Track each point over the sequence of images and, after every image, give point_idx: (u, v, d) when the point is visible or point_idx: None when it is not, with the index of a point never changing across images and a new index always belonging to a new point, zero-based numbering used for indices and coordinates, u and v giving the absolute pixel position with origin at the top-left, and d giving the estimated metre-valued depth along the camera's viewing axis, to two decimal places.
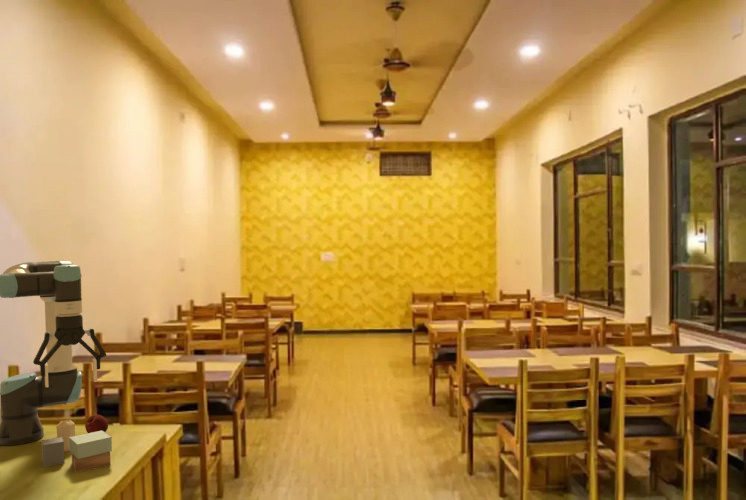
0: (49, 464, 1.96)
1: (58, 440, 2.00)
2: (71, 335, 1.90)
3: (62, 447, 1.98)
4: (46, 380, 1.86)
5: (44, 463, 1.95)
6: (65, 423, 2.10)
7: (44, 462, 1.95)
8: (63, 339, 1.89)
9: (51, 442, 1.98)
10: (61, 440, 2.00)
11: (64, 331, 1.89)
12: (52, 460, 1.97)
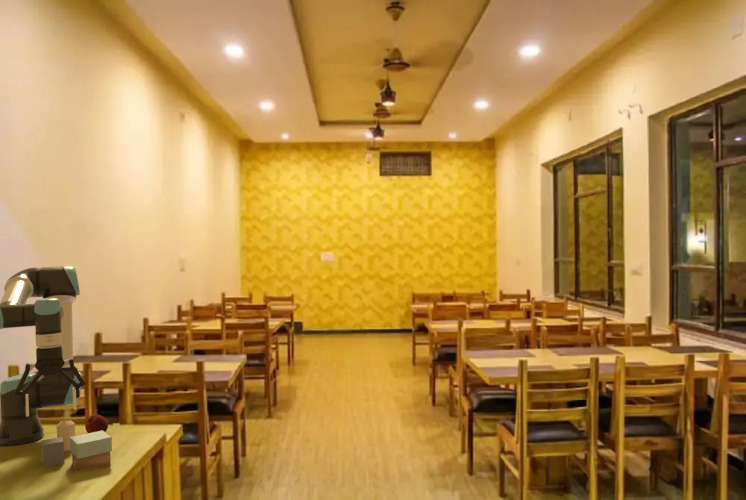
0: (49, 464, 1.96)
1: (58, 440, 2.00)
2: (51, 366, 1.98)
3: (62, 447, 1.98)
4: (27, 409, 1.94)
5: (44, 463, 1.95)
6: (65, 423, 2.10)
7: (44, 462, 1.95)
8: (43, 370, 1.97)
9: (51, 442, 1.98)
10: (61, 440, 2.00)
11: (44, 362, 1.97)
12: (52, 460, 1.97)
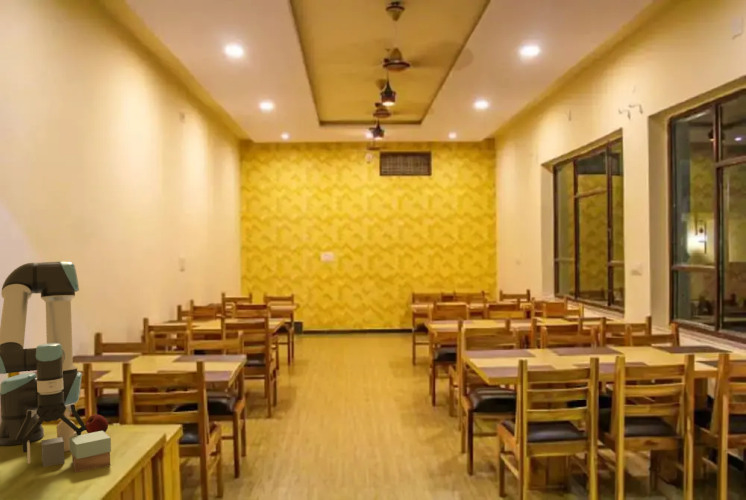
0: (49, 464, 1.96)
1: (58, 440, 2.00)
2: (52, 411, 1.98)
3: (62, 447, 1.98)
4: (28, 456, 1.94)
5: (44, 463, 1.95)
6: (65, 423, 2.10)
7: (44, 462, 1.95)
8: (45, 416, 1.97)
9: (51, 442, 1.98)
10: (61, 440, 1.99)
11: (46, 408, 1.97)
12: (52, 460, 1.97)
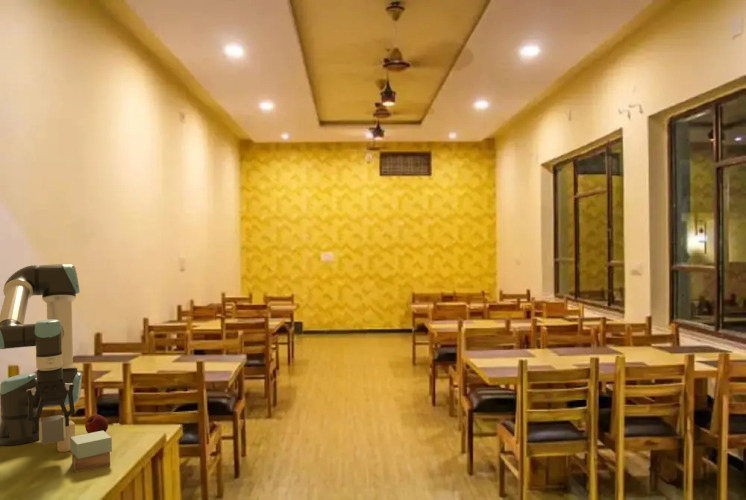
0: (48, 441, 1.97)
1: (57, 418, 2.00)
2: (52, 386, 1.99)
3: (61, 425, 1.99)
4: (40, 435, 1.97)
5: (43, 440, 1.96)
6: None
7: (43, 439, 1.96)
8: (45, 392, 1.97)
9: (50, 420, 1.98)
10: (60, 418, 2.00)
11: (43, 382, 1.97)
12: (52, 437, 1.97)
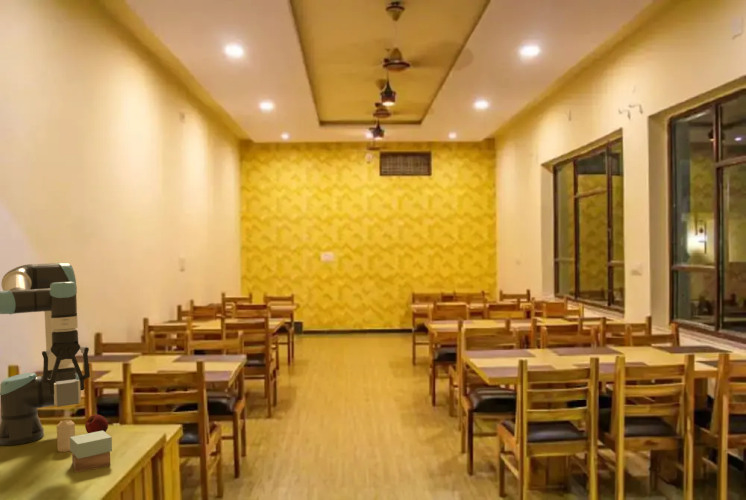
0: (63, 404, 1.94)
1: (72, 381, 1.97)
2: (67, 349, 1.96)
3: (76, 387, 1.96)
4: (55, 398, 1.94)
5: (58, 403, 1.93)
6: (65, 423, 2.10)
7: (58, 402, 1.93)
8: (60, 354, 1.95)
9: (65, 382, 1.95)
10: (75, 381, 1.97)
11: (58, 344, 1.95)
12: (67, 400, 1.94)
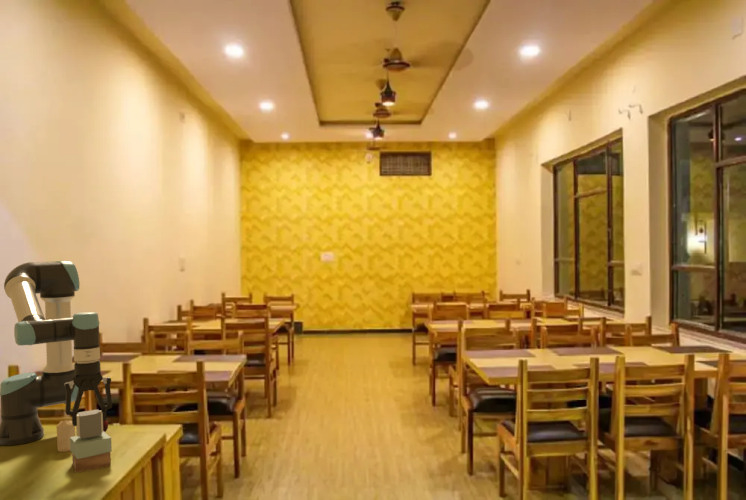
0: (86, 436, 1.93)
1: (95, 412, 1.96)
2: (90, 380, 1.95)
3: (99, 419, 1.95)
4: (78, 430, 1.93)
5: (81, 435, 1.92)
6: (65, 423, 2.10)
7: (81, 434, 1.92)
8: (83, 386, 1.94)
9: (88, 414, 1.94)
10: (98, 412, 1.96)
11: (81, 376, 1.94)
12: (90, 431, 1.93)
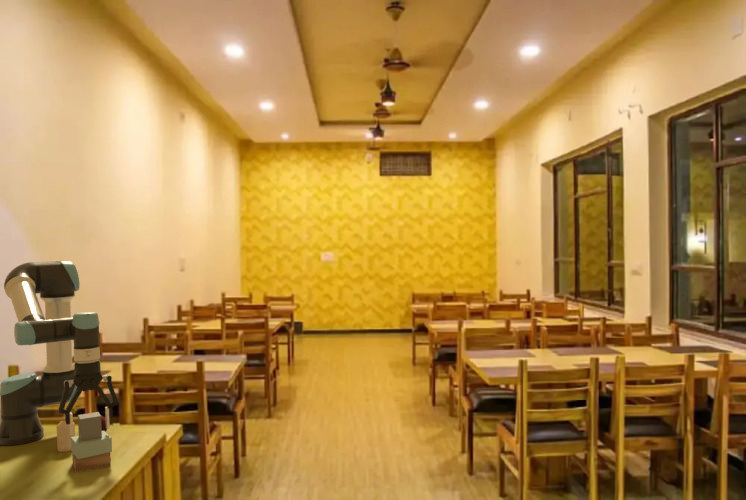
0: (87, 438, 1.93)
1: (95, 415, 1.96)
2: (89, 380, 1.95)
3: (99, 421, 1.95)
4: (71, 428, 1.92)
5: (82, 437, 1.92)
6: (65, 423, 2.10)
7: (82, 436, 1.92)
8: (82, 385, 1.93)
9: (88, 416, 1.94)
10: (98, 414, 1.96)
11: (82, 376, 1.94)
12: (90, 434, 1.93)
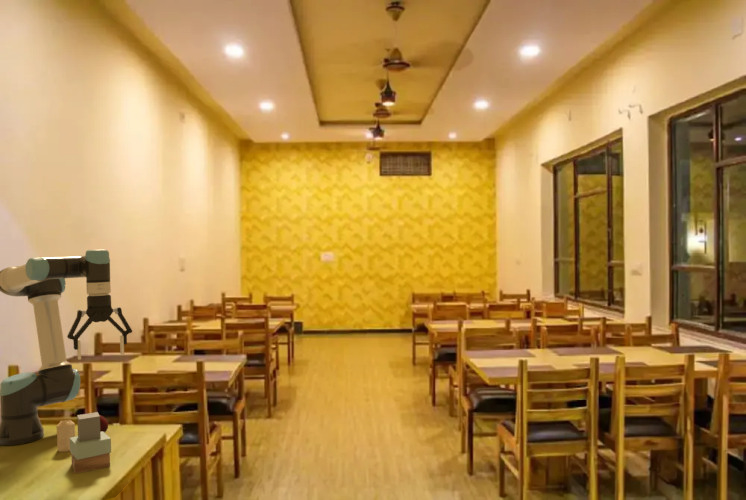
0: (85, 439, 1.92)
1: (94, 415, 1.96)
2: (101, 313, 2.10)
3: (98, 422, 1.94)
4: (79, 353, 2.06)
5: (80, 438, 1.92)
6: (65, 423, 2.10)
7: (80, 437, 1.92)
8: (94, 316, 2.08)
9: (87, 417, 1.94)
10: (97, 415, 1.96)
11: (95, 309, 2.09)
12: (89, 434, 1.93)
